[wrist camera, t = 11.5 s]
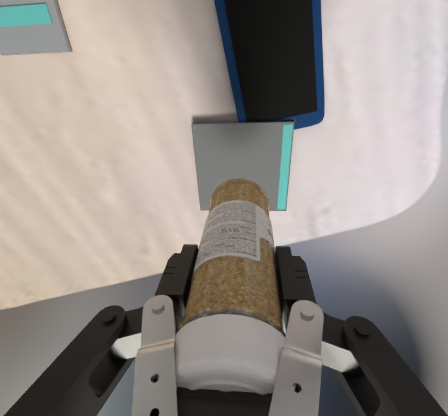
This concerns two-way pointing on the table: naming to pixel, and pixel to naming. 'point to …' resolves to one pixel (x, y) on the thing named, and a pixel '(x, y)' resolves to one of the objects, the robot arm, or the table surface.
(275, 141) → the mat
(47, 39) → the label tag
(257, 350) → the sprinkles bottle
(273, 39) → the cell phone
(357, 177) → the table surface
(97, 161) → the table surface
